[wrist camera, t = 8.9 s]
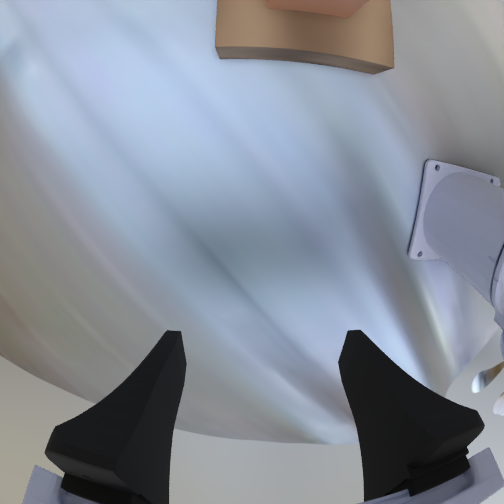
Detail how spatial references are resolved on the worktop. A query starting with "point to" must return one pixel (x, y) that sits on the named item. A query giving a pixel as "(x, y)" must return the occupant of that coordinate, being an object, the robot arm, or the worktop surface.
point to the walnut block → (307, 35)
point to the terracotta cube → (319, 6)
